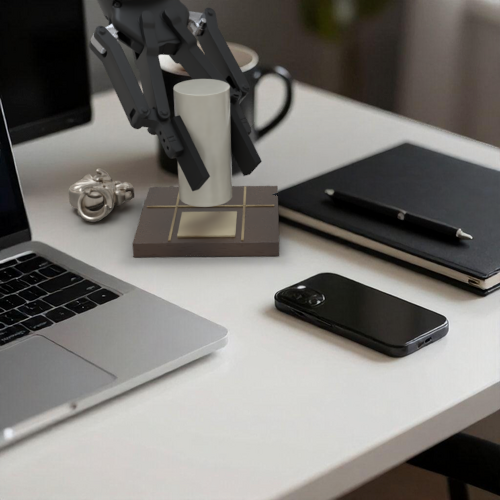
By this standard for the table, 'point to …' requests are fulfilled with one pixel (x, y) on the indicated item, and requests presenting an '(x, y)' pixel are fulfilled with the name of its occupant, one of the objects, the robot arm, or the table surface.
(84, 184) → the ornament
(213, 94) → the white cylinder
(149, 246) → the board
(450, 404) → the table surface
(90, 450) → the table surface
